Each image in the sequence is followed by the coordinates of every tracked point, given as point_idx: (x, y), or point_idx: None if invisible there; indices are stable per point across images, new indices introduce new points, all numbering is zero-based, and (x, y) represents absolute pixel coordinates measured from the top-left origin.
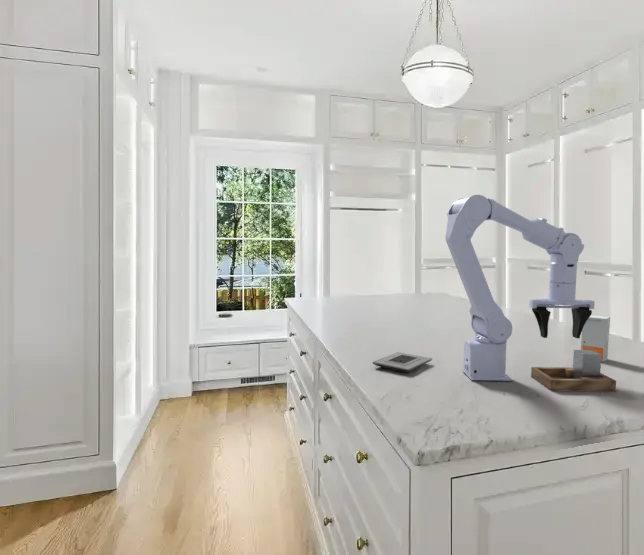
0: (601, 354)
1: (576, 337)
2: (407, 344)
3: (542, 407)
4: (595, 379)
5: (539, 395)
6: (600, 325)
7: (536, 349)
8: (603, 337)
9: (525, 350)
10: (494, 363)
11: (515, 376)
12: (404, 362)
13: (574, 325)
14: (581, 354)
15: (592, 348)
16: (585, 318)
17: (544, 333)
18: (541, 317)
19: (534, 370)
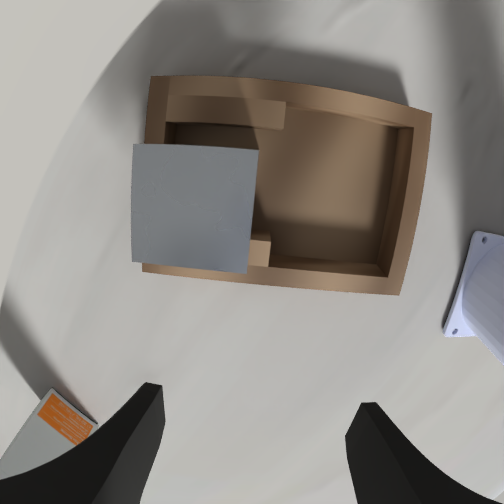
0: (49, 404)
1: (161, 391)
2: None
3: (483, 15)
4: (231, 92)
5: (461, 87)
6: (15, 470)
7: (184, 487)
8: (23, 437)
9: (219, 487)
10: None
11: (430, 284)
12: None
13: (141, 474)
14: (256, 169)
15: (62, 429)
16: (59, 476)
17: (390, 419)
18: (472, 493)
19: (404, 264)
